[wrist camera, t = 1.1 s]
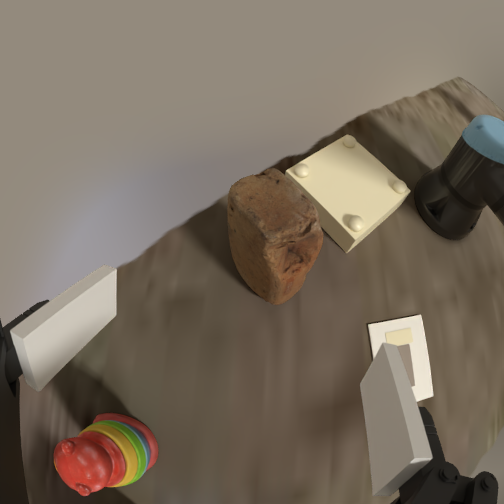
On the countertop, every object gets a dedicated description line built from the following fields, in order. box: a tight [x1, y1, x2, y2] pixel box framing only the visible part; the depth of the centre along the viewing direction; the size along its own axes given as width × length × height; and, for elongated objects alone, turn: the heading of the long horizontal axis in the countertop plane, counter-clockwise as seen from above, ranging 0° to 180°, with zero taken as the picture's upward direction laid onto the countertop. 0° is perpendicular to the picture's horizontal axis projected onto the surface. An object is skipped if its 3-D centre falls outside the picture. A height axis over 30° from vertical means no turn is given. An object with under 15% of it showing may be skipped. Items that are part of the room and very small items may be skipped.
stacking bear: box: [54, 413, 158, 496], centre depth 28 cm, size 11×10×18 cm
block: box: [227, 168, 324, 305], centre depth 38 cm, size 11×8×20 cm
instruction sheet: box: [368, 315, 433, 402], centre depth 41 cm, size 10×14×1 cm
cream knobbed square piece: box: [285, 134, 410, 253], centre depth 51 cm, size 16×16×6 cm
